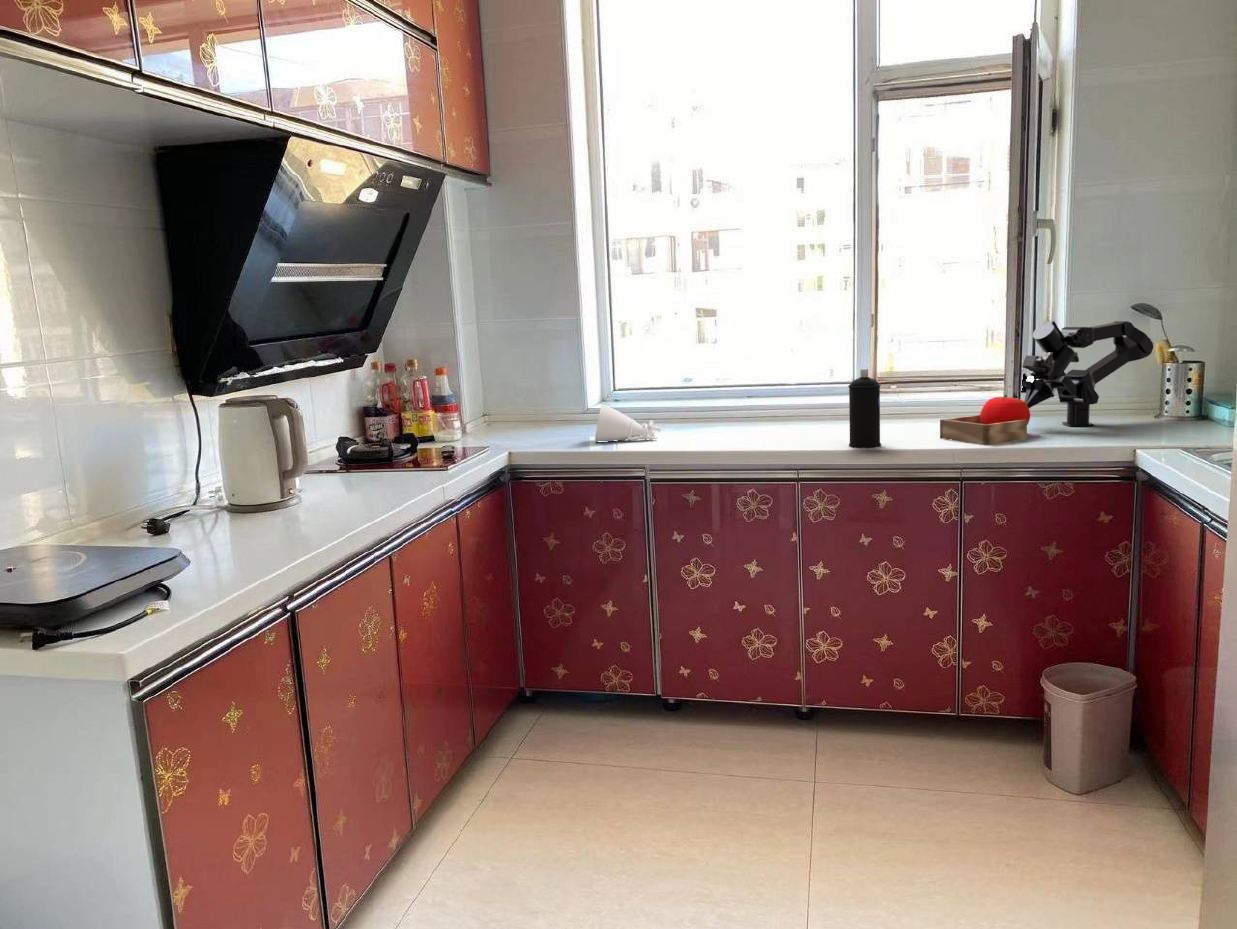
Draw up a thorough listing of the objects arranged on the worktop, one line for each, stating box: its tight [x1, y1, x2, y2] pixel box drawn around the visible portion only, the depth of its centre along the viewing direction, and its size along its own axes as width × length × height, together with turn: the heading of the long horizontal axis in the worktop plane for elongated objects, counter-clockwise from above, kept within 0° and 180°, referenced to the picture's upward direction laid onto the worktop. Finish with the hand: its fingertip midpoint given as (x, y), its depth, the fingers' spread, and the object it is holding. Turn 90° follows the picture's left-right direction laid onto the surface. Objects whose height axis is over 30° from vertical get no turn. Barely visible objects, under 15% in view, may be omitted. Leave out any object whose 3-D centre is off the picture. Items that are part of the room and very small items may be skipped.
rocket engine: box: [594, 404, 661, 442], centre depth 282 cm, size 12×12×18 cm
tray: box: [939, 414, 1028, 446], centre depth 253 cm, size 14×16×5 cm
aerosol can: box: [847, 368, 882, 449], centre depth 251 cm, size 8×8×20 cm
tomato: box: [979, 394, 1031, 426], centre depth 256 cm, size 11×12×10 cm
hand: (1025, 407), depth 259 cm, fingers closed
